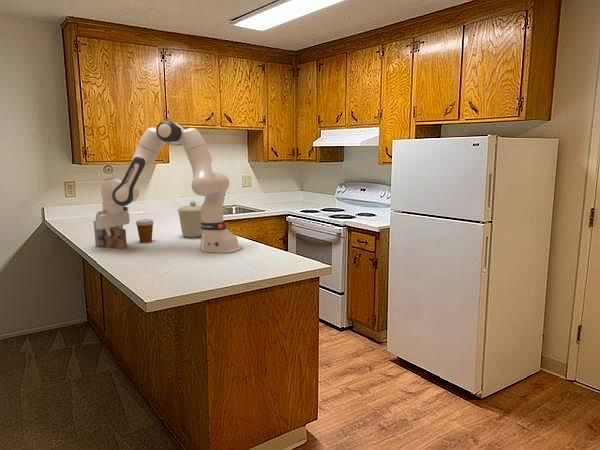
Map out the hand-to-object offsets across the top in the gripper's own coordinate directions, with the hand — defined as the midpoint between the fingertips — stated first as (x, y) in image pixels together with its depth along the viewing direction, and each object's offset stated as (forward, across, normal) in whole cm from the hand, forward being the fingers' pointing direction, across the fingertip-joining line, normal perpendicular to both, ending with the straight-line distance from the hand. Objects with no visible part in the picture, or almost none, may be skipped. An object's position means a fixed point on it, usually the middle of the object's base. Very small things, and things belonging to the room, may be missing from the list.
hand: (113, 235), depth 237 cm
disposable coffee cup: (+7, +18, -5) cm, 20 cm away
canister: (+7, +41, -21) cm, 47 cm away
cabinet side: (+7, +6, +8) cm, 12 cm away
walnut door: (+7, 0, 0) cm, 7 cm away
